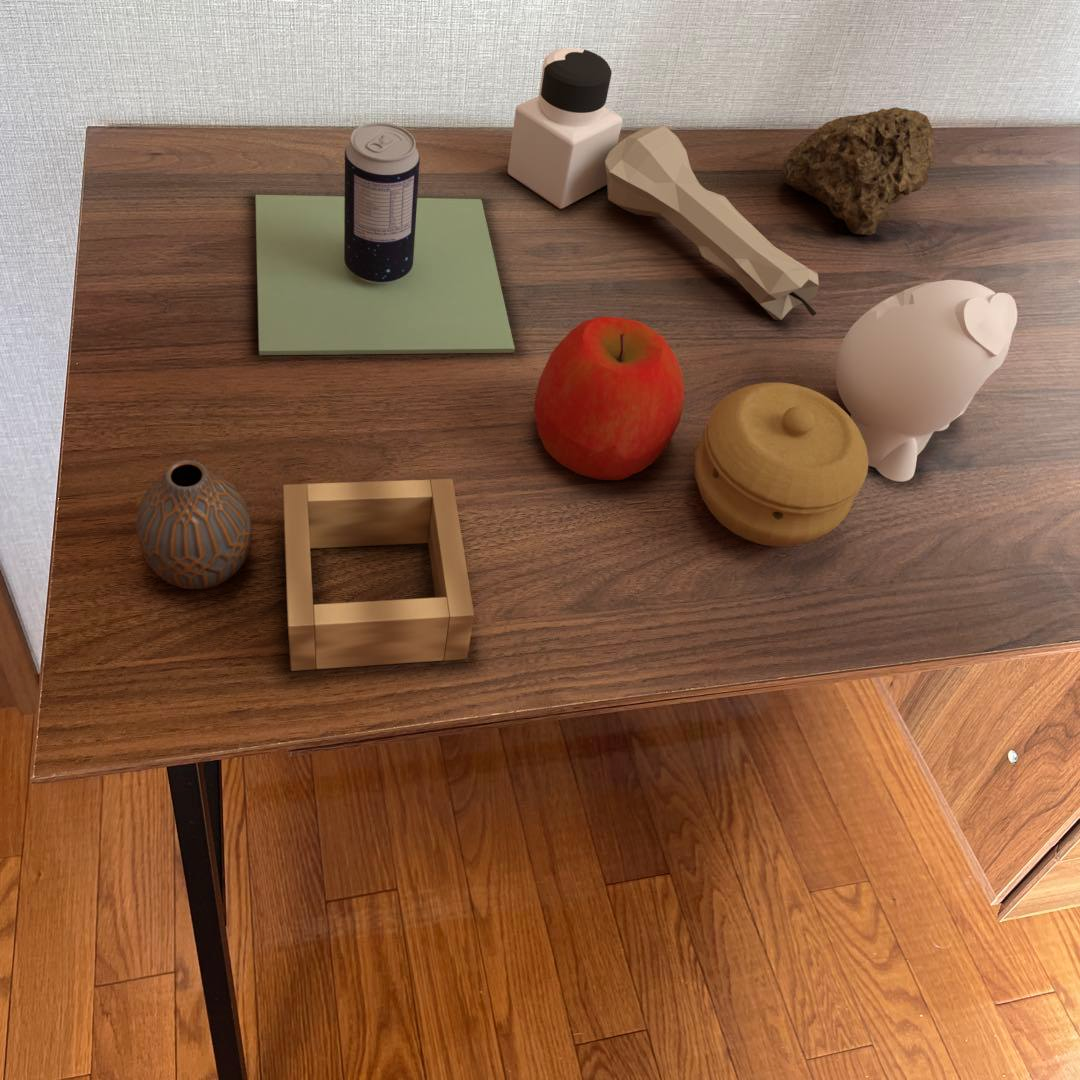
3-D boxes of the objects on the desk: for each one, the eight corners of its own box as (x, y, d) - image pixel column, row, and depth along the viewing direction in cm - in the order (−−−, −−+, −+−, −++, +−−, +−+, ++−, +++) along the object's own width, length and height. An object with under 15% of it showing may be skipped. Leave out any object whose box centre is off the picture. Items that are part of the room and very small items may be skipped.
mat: (259, 355, 85) (258, 350, 85) (255, 199, 97) (255, 194, 97) (514, 353, 89) (514, 348, 89) (480, 203, 101) (481, 198, 101)
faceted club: (648, 162, 108) (840, 316, 99) (582, 208, 105) (773, 369, 96) (653, 89, 100) (863, 249, 91) (582, 136, 97) (790, 305, 88)
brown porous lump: (778, 179, 112) (913, 93, 109) (843, 283, 109) (985, 198, 106) (763, 127, 102) (912, 30, 98) (836, 241, 98) (993, 144, 95)
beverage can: (426, 267, 94) (435, 140, 84) (384, 300, 90) (390, 171, 81) (372, 238, 95) (376, 110, 86) (330, 269, 92) (329, 140, 82)
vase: (255, 603, 71) (246, 516, 64) (142, 609, 70) (121, 521, 63) (254, 520, 75) (246, 430, 68) (147, 524, 74) (128, 433, 67)
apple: (673, 409, 88) (708, 304, 80) (660, 510, 81) (696, 406, 73) (541, 379, 88) (562, 271, 80) (516, 477, 81) (536, 370, 73)
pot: (675, 549, 79) (711, 454, 71) (688, 434, 86) (723, 337, 78) (835, 585, 79) (889, 494, 71) (835, 467, 86) (884, 373, 79)
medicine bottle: (610, 185, 106) (635, 66, 97) (560, 211, 102) (582, 90, 93) (555, 149, 108) (575, 30, 99) (505, 174, 105) (521, 52, 95)
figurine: (790, 428, 88) (857, 278, 77) (847, 358, 95) (918, 209, 83) (916, 499, 85) (1006, 354, 74) (966, 421, 92) (1057, 276, 80)
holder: (290, 671, 68) (288, 626, 64) (285, 532, 75) (282, 484, 71) (466, 659, 71) (474, 615, 67) (446, 525, 77) (452, 478, 73)
